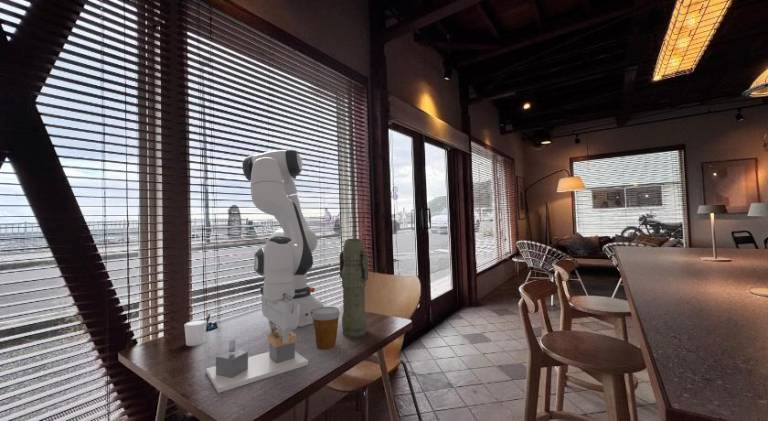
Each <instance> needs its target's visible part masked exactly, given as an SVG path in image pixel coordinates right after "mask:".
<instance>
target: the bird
mask: <svg viewBox="0 0 768 421" xmlns="http://www.w3.org/2000/svg"><path fill="white" fill-rule="evenodd" d="M210 318H211V313H208V316H207V318H206V319H205V320H206V321H207V325H206V331H209V332H210V331H213V330H216V329H218V322H217V321H214V322H210V321H209V320H210Z"/></svg>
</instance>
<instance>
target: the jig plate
mask: <svg viewBox="0 0 768 421" xmlns="http://www.w3.org/2000/svg"><path fill="white" fill-rule="evenodd" d="M278 332H279V338H281V336H282V334H283V331H282V328H280V329H278ZM268 343H269V342H268ZM268 345H269V346H268V348H269V351H266V352H263V353H258V354H256V355H252V356H249V351H247V350H240V349H236V340H235V339H233V338H232V339H230V340H229V341H228V350H227V351H225V352H222V353H221V354H219V355H216V356H215V365H214V366H211V367H206V368H205V371H206V372H205V373H206V375H207V376H208V379H209V380H210V382H211V383H212V385H213V387H214V388H215V390H216V392H217V393H218V394H220V393H223V392H226V391H229V390H232V389H235V388H238V387H241V386H245V385H248V384H252V383H254V382H257V381H261V380H263V379H267V378H270V377H273V376H277V375H280V374H282V373H286V372H290V371H293V370H297V369H298V368H301V367H304V366H308V365H309V360H308V359H307V358H305V357H304V356H302V355H301V354H300V353H298V352H297V351H296V342H294V343H290V344H286V345H283V346H279V347H274V346H273V345H272V344H271V343H269V344H268Z"/></svg>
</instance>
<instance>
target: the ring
mask: <svg viewBox="0 0 768 421" xmlns="http://www.w3.org/2000/svg"><path fill="white" fill-rule="evenodd" d="M297 340H298V339H297V334H296V333H294V332H293V331H291V332H290V335H289V342H288V343H283V342H282V341H281V338H279V331H277V332H276V333H268V334H267V342H268V343H271V344H272V345H273V346H274V347H279V346H283V345H286V344H290V343H294V342H295V343H297V342H298V341H297Z"/></svg>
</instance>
